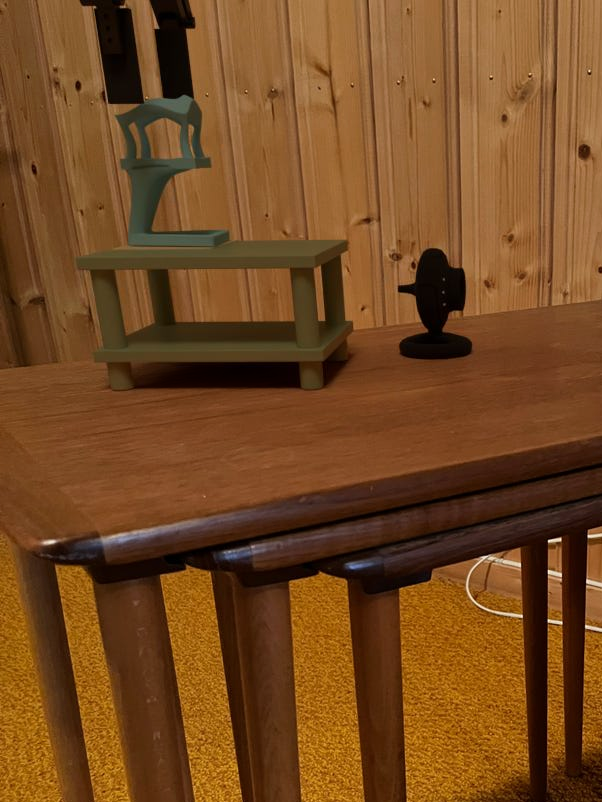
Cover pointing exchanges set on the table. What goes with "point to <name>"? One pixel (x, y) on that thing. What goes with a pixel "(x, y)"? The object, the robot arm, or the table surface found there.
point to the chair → (162, 171)
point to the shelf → (223, 339)
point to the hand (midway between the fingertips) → (155, 108)
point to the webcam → (436, 307)
